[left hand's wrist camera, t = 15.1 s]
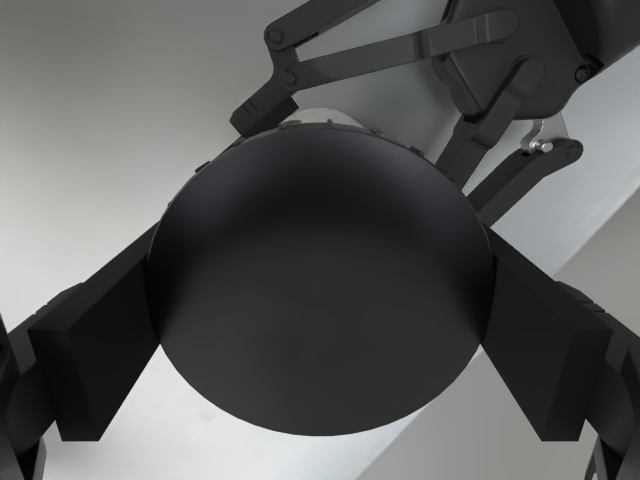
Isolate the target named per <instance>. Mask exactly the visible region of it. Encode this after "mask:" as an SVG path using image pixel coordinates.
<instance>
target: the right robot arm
mask: <svg viewBox="0 0 640 480" xmlns="http://www.w3.org/2000/svg"><path fill="white" fill-rule="evenodd" d="M379 1H380V0H310V1H308V2H307V3H305V4H303V5H301V6H300V7H298V8H296V9H295V10H293V11H291V12H289V13H288V14H286V15H284V16H283V17H281V18H279V19H278V20H276V21H274V22H272V23H271V24H270V25H268V26H267V27H266V30H265V32H264V40H265V43H266V44H267V47H268V50H269V52H270V55H271V58H272V61H273V65H274V72H273V75H272V77H271V79H270V80H269V81H268V82H267V83H266V84H265V85H264V86H263V87H261V88H260V89H259V90H258V91H257V92H256V93H255V94H253V95H252V96H251V97H250V98H249V99H248V100H247V101H245V102H244V103H243V104H242V105H241V106H240V107H239V108H238V109H236V110H235V111H234V112H233V115H232V117H231V119H230V123H231V124H232V125H233V126H234V127H235V129H236V130H237V131H238V132H239V133H240V135H241V137H240V138H238V139H237V140H236V141H238V140H239V139H241V138H243V137H245V139H248V138H251V137H253V136H255V135H257V134H259V133H262V132H265V131H268V130H272V129H274V128H276V127H277V126H278V125H279V124H280V123H282V122H283V121H284V120H285V119H286V118H287V117H289V116H290V115H291V114H292V113H293V112H295V111H296V110H297V109H298V108H299V107H298V105H297V104H296V103H295V101H294V100H293V99H292V97H291V96H292V95H293V94H295V93H296V92H297V91H299V90H303V89H307V88H311V87H315V86H319V85H323V84H327V83H331V82H335V81H339V80H343V79H347V78H351V77H355V76H359V75H363V74H367V73H371V72H375V71H379V70H383V69H387V68H391V67H395V66H399V65H403V64H407V63H411V62H415V61H419V60H423V59H427V58H431V57H432V61H433V63H432V64H431V66H432V68H433V70H434V71H435V73H436V74H437V76H438V77H439V78H440V79H441V80H442V81H443V82H444V83H445V84H447V85H448V86H449V88H450V91H451V95H452V98H453V102H454V103H455V105H456V106H457V108H458V110H459V111H460V113H463V114H462V115H461V117H460V119H459V120H458V122H457V124H456V126H455V127H454V130H453V135H452V137H451V139H450V141H449V142H448V144H447V146H446V147H445V149H444V150H443V152H442V154H441V155H440V157H439V159H438V160H437V162H436V164H435V166H436V167H437V168H438V169H440V170H441V171H442V172H443V173H444V174H446V175H447V176H448V177H450V178H451V179H453V180H454V181H456V182H457V183H458V185H457V187H458V188H459V189H460V190H462V189H463V187H464V185H465V184H466V182H467V181H468V179H469V178H470V176H471V175H472V173H473V172H474V170H475V169H476V167H477V166H478V164H479V162H480V161H481V159H482V158H483V156H484V155H485V153H486V152H487V151H488V150H489V149H491V148H492V147H494V146H495V145H496V144H497V142H498V141H499V139H500V138H501V136H502V135H503V133H504V132H505V130H506V129H507V127H508V126H509V124H510V123H511V121H512V120H532V119H533V122H534V123H533V128H532V130H531V131H530V132H529V133H528V134H527V135H526V136H525V137H524V138H522V139H521V142H520V144H521V148H520V149H518V150H516V151H515V152H513V153H512V154H511V155H509V156H508V157H507V158H506V159H505V160H504V161H502V162H501V163H500V164H499V165H498V166H497V167H496V168H495V169H494V170H493V171H492V172H491V173H490V174H489V175H488V176H487V177H486V178H485V179H484V180H483V181H482V182H481V183H480V184H479V185H478V186H477V187H476V188H475V189H474V190H473V191H472V192H471V193H470V194H469V195H468V196H467V197H466V198H467V199H468V201H469V202H470V204H471V205H472V207H473V208H474V210H475V211H476V213H477V215H478V217H479V219H480V220H481V221H482V222H483V223H484V224H486V225H487V226H488V227H489V228H490V227H491V226H492V225H493V224H494V223H495V222H496V221H497V220H498V219H499V218H501V217H502V216H503V215H504V214H505V213H506V212H507V211H508V210H509V209H510V208H511V207H512V206H513V205H515V204H516V203H517V202H518V201H519V200H520V199H521V198H522V197H523V196H524V195H525V194H526V193H527V192H529V191H530V190H531V189H532V188H533V187H534V186H535V185H536V184H537V183H538V182H539V181H540V180H541V179H542V178H544V177H545V176H547V175H549V174H551V173H553V172H555V171H557V170H559V169H561V168H563V167H565V166H567V165H569V164H571V163H573V162H575V161H577V160H578V159H579V158H580V157H581V155H582V153H583V145H582V144H581V142H579V141H578V140H573V139H569V137H568V134H567V130H566V127H565V124H564V121H563V118H562V115H561V112H560V111H561V110H562V109H563V108H564V107H565V105H566V104H567V102H568V100H569V98H570V97H571V96H572V94H573V93H574V92H575V91H576V89H577V88H578V87H579V86H581V85H582V84H583V83H585V82H587V81H588V80H590V79H591V78H593V77H595V76H596V75H598V74H599V73H601V72H602V71H604V70H605V69H607V68H608V67H609V66H611V65H612V64H614V63H615V62H616V61H618V60H619V59H621V58H622V57H623V56H625V55H626V54H628V53H629V52H630V51H632V50H633V49H635V48H636V47H638V46H639V45H640V0H448V2H447V5H446V8H445V11H444V14H443V16H442V19H441V22H440V25H439V26H436V27H432V28H428V29H424V30H421V31H418V32H415V33H412V34H408V35H404V36H400V37H396V38H392V39H388V40H384V41H381V42H377V43H373V44H369V45H365V46H361V47H357V48H353V49H349V50H345V51H342V52H338V53H334V54H330V55H326V56H322V57H318V58H314V59H310V60H306V61H302V62H299V60H298V56H297V53H296V50H295V49H296V48H298V47H299V46H301V45H303V44H305V43H306V42H308V41H310V40H312V39H313V38H315V37H317V36H319V35H320V34H322V33H324V32H326V31H328V30H329V29H331V28H333V27H335V26H336V25H338V24H340V23H342V22H343V21H345V20H347V19H349V18H350V17H352V16H354V15H356V14H357V13H359V12H361V11H363V10H365V9H366V8H368V7H370V6H372V5H373V4H375V3H377V2H379ZM236 141H235V142H236ZM232 147H234V146H233V144H231V145H230V146H229V147H228V148H227V149H226V150H224V151H223V152H222V153H221V154H223V153H224V152H226V151H228V150H229V149H231V148H232ZM221 154H220V155H221ZM220 155H219V156H220ZM217 157H218V156H217ZM217 157H216V158H217Z"/></svg>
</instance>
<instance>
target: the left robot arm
mask: <svg viewBox="0 0 640 480" xmlns="http://www.w3.org/2000/svg"><path fill="white" fill-rule="evenodd" d="M480 221H481V220H480ZM159 222H160V221H158V222H157V223H156V224H155V225H154V226H152V227H151V228H150V229H149V230H147V231H146V232H145V233H144V234H143V235H141V236H140V237H139V238H138V239H136V240H135V241H134V242H133V243H132V244H130V245H129V246H128V247H127V248H125V249H124V250H123V251H122V252H121V253H119V254H118V255H117V256H116V257H114V258H113V259H112V260H111V261H110V262H108V263H107V264H106V265H105V266H103V267H102V268H101V269H100V270H99V271H97V272H96V273H95V274H94V275H93V276H91V277H90V278H89V279H88V280H86V281H85V282H84V283H79V284H77V285H75V286H73V287H71V288H68V289H66V290H64V291H62V292H60V293H59V294H58V295H57V296H55V297H54V298H53V299H52V300H50V301H49V302H48V303H47V305H44V306H43V307H41V308H40V309H39V310H38V311H36V314H32V315H31V316H30V317H29V318H27V319H26V320H25V321H23V322H22V323H21V324H20V325H18V326H17V327H16V328H15V329H13V330H12V331H11V332H9V333H8V334H7V331H6V328H5V325H4V322H3V319H2V317H1V314H0V480H42V478H43V472H44V466H45V459H46V447H45V443H44V440H43V437H42V436H43V434H44V433H45V432H46V431H47V429H48V428H49V427H50V426H51V424H52V423H53V422H54V421H55V420H56V424H57V427H58V430H59V433H60V436H61V439H62V441H99V440H100V438H101V437H102V435H103V434H104V432H105V430H106V429H107V427H108V426H109V424H110V422H111V421H112V419H113V418H114V416H115V414H116V413H117V411H118V410H119V408H120V406H121V405H122V403H123V402H124V400H125V399H126V397H127V395H128V394H129V392H130V391H131V389H132V387H133V386H134V384H135V383H136V381H137V379H138V378H139V376H140V375H141V373H142V371H143V370H144V368H145V367H146V365H147V364H148V362H149V360H150V359H151V357H152V356H153V354H154V352H155V351H156V349H157V348H158V346H159V344H160V342H159V340H158V338H157V336H156V333H155V330H154V327H153V325H152V322H151V318H150V313H149V307H148V302H147V296H146V268H147V259H148V254H149V250H150V246H151V243H152V239H153V236H154V233H155V231H156V229H157V226H158V224H159ZM481 223H482V226H483V228H484V230H485V232H486V235H487V238H488V242H489V245H490V249H491V252H492V258H493V266H494V273H495V280H494V297H493V303H492V309H491V314H490V319H489V322H488V325H487V328H486V332H485V334H484V336H483V338H482V340H481V343H480V344H481V346H482V347H483V349H484V350H485V352H486V354H487V355H488V357H489V358H490V360H491V362H492V363H493V365H494V366H495V368H496V370H497V371H498V373H499V374H500V376H501V377H502V379H503V381H504V382H505V384H506V385H507V387H508V389H509V390H510V392H511V393H512V395H513V397H514V398H515V400H516V401H517V403H518V405H519V406H520V408H521V409H522V411H523V412H524V414H525V416H526V417H527V419H528V420H529V422H530V424H531V425H532V427H533V428H534V430H535V432H536V433H537V435H538V436H539V438H540V440H541V441H578V440H579V437H580V434H581V431H582V428H583V425H584V421H585V418H586V419H587V421H588V422H589V423H590V424H591V426H592V427H593V428H594V429H595V430H596V432H597V433H598V437H597V440H596V443H595V446H594V449H593V452H592V455H591V458H590V461H589V464H588V467H587V469H586V473H585V479H584V480H592V477H593V474H594V473H596V472H597V477H598V480H640V337H639V336H637V335H636V334H635V333H633V332H632V331H631V330H630V329H628V328H627V327H626V326H624V325H623V324H622V323H621V322H619V321H618V320H617V319H615V318H614V317H613V316H612V315H610V314H609V313H605V310H604V309H603V308H601V307H600V306H599V305H597V304H594V303H593V301H592V300H591V299H590V298H588V297H587V296H586V295H585V294H583V293H582V292H581V291H579V290H577V289H575V288H573V287H571V286H569V285H567V284H565V283H562V282H560V281H554V280H553V279H551V278H550V277H549V276H548V275H547V274H545V273H544V272H543V271H542V270H540V269H539V268H538V267H537V266H536V265H534V264H533V263H532V262H531V261H529V260H528V259H527V258H526V257H525V256H523V255H522V254H521V253H520V252H518V251H517V250H516V249H515V248H514V247H512V246H511V245H510V244H509V243H507V242H506V241H505V240H504V239H503V238H501V237H500V236H499V235H498V234H496V233H495V232H494V231H493V230H492V229H490V228H489V227H488V226H487V225H486V224H484V223H483V222H482V221H481Z"/></svg>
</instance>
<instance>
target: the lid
mask: <svg viewBox="0 0 640 480" xmlns="http://www.w3.org/2000/svg"><path fill="white" fill-rule="evenodd" d="M233 146H234V147H232V148H231V149H229V150H228V151H226V152H224V153H223V154H221V155H220V156H218V157H217V158H215V159H214V160H212V161H211V162H210V161H208V162H206V163H205V164H203V165H202V166H200V167H199V168H197V169H196V170H195V172H196V174H195V175H194V176H193V177H192V178H190V179H189V180H188V181H187V183H186V184H185V185H184V186H183V187H182V188H181V190H180V191H179V192H178V193H177V194H176V195H175V197H174V198H173V199H172V201H170V202H169V204H168V207H167V209H166V211H165V212H164V214H163V215H162V217H161V219H160V222H159V224H158V226H157V229H156V231H155V233H154V236H153V239H152V243H151V246H150V250H149V254H148V259H147V268H146V296H147V302H148V307H149V313H150V318H151V322H152V325H153V327H154V330H155V333H156V336H157V338H158V340H159V342H160V344H161V346H162V348H163V350H164V352H165V354H166V355H167V357H168V358H169V360H170V361H171V363H172V364H173V366H174V367H175V368H176V370H177V371H178V372H179V373H180V375H181V376H182V377H183V378H184V379H185V380H186V381H187V382H188V383H189V385H190V386H192V387H193V388H194V389H195V390H196V391H197V392H198V393H200V394H201V395H202V396H203V397H204V398H206V399H207V400H208V401H210V402H211V403H213V404H214V405H216V406H217V407H219V408H220V409H222V410H224V411H225V412H227V413H229V414H231V415H233V416H235V417H236V418H239V419H241V420H243V421H246V422H248V423H251V424H253V425H256V426H259V427H262V428H266V429H269V430H273V431H277V432H282V433H288V434H293V435H304V436H337V435H346V434H353V433H358V432H363V431H367V430H371V429H375V428H378V427H381V426H384V425H387V424H390V423H392V422H394V421H397V420H399V419H401V418H404V417H406V416H408V415H409V414H411V413H413V412H415V411H416V410H418V409H420V408H422V407H423V406H425V405H426V404H428V403H429V402H430V401H432V400H433V399H434V398H436V397H437V396H439V395H440V394H441V393H442V392H443V391H444V390H445V389H446V388H447V387H448V386H449V385H451V384H452V383H453V382H454V381H455V379H456V378H457V377H458V376H459V375H460V373H461V372H462V371H463V370H464V369H465V368H466V366H467V365H468V363H469V362H470V360H471V359H472V357H473V355H474V354H475V352H476V351H477V349H478V347H479V345H480V343H481V340H482V338H483V336H484V334H485V332H486V328H487V325H488V322H489V319H490V314H491V309H492V303H493V297H494V280H495V273H494V266H493V258H492V252H491V249H490V245H489V242H488V238H487V235H486V232H485V230H484V228H483V226H482V223H481V221H480V219H479V217H478V215H477V213H476V211H475V210H474V208H473V207H472V205H471V204H470V202H469V201H468V199H467V198H466V196H465V195H464V193H463V192H462V191H461V190H460V189H459V188H458V187H457V185H458V183H457V182H456V181H454V180H453V179H451V178H450V177H448V176H447V175H446V174H444V173H443V172H442V171H441V170H440V169H438V168H437V167H436V166H435V165H433V164H432V163H431V162H430V161H428V160H427V159H425V158H424V157H423V155H424V153H423V152H421V151H420V150H418V149H416V148H415V147H413V146H411V147H410V148H408V147H406V146H405V145H403V144H401V143H400V142H398V141H396V140H395V139H392V138H390V137H387V136H385V135H383V134H381V132H380V131H379V130H377V129H376V128H374V127H372V128H371V130H369V129H365V128H361V127H357V126H354V125H347V124H339V123H333V122H332V120H331V119H327V122H315V123H300V124H294V125H287V123H286V122H285V123H282V124H281V125H280V126H279V127H278V128H275V129H272V130H268V131H265V132H262V133H259V134H257V135H255V136H253V137H251V138H248V139H245V137H243V138H241V139H239V140H238V141H236V142H234V143H233Z"/></svg>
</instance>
